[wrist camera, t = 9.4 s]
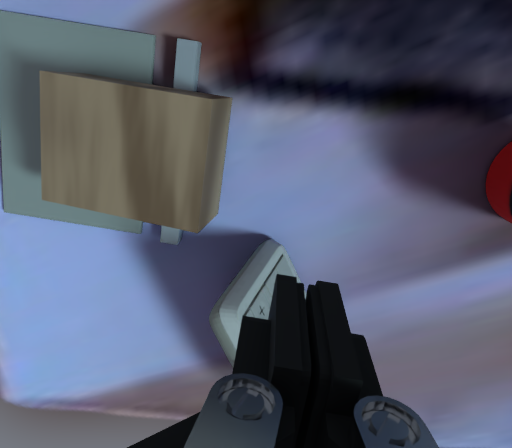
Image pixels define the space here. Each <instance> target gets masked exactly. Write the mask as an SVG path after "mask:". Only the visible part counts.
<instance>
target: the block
mask: <svg viewBox="0 0 512 448" xmlns="http://www.w3.org/2000/svg"><path fill="white" fill-rule="evenodd" d="M39 73H40V131H41V189H42V200H44V201H49V202H54V203H58V204H63V205H68V206H73V207H77V208H82V209H87V210H91V211H96V212H101V213H105V214H110V215H115V216H119V217H124V218H129V219H133V220H138V221H143V222H147V223H152V224H157V225H161V226H166V227H171V228H175V229H180V230H185V231H190V232H194V233H198V232H200V231H201V230H202V229H203V228H204V227H205V226H206V225H207V224H208V223H209V222H210V221H211V220H212V219H213V218H214V217H215V216H216V215H217V214H218V209H219V201H220V193H221V185H222V177H223V169H224V161H225V153H226V145H227V136H228V128H229V120H230V112H231V104H232V98H230V97H224V96H218V95H212V94H206V93H200V92H194V91H188V90H182V89H176V88H169V87H163V86H157V85H151V84H145V83H139V82H133V81H127V80H121V79H115V78H109V77H103V76H97V75H91V74H84V73H71V72H55V71H39Z"/></svg>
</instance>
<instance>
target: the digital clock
mask: <svg viewBox="0 0 512 448" xmlns="http://www.w3.org/2000/svg"><path fill="white" fill-rule="evenodd" d="M277 274H281V275H287V276H293V277H297V283H301V281H300V279H299V277H298V275H297V273H296V271H295V268H294V266H293V264H292V262H291V260H290V258H289V256H288V254H287V252H286V250H285V248H284V247H283V246H282V245H281V244H279V243H278V242H276V241H274V240H272V239H269V240H267V241H264V242H263V243H262V244H260V245H259V246H258V248H257V249H256V250H255V252H254V253H253V254H252V255H251V257H250V258H249V259H248V261H247V262H246V263H245V265H244V266H243V267H242V269H241V270H240V271H239V273H238V274H237V275H236V277H235V278H234V279H233V281H232V282H231V283H230V285H229V286H228V287H227V289H226V290H225V291H224V293H223V294H222V295H221V297H220V298H219V299H218V301H217V302H216V304H215V305H214V307H213V308H212V310H211V313H210V315H209V322H210V325H211V328H212V330H213V332H214V334H215V336H216V337H217V339H218V341H219V343H220V345H221V347H222V349H223V351H224V352H225V354H226V356H227V358H228V360H229V362H230V363H231V365H232V367H234V361H235V356H236V350H237V344H238V338H239V333H240V327H241V321H242V315H243V316H249V317H255V318H261V319H267V320H268V317H269V311H270V306H271V301H272V295H273V290H274V284H275V279H276V275H277ZM304 293H305V298H306V292H305V290H304Z"/></svg>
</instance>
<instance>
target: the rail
mask: <svg viewBox="0 0 512 448" xmlns="http://www.w3.org/2000/svg"><path fill="white" fill-rule="evenodd" d="M200 53H201V43H200V42H198V41H192V40H185V39H179V38H177V49H176V61H175V73H174V84H173V88H176V89H182V90H188V91H194V92H197V82H198V73H199V63H200ZM181 239H182V230H180V229H175V228H171V227H166V226H161V238H160V242H162V243H168V244H174V245H178V244H179V242H180V241H181Z"/></svg>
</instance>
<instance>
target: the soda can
mask: <svg viewBox="0 0 512 448" xmlns="http://www.w3.org/2000/svg"><path fill="white" fill-rule="evenodd" d="M486 194H487V198H488V201H489V203H490V205H491V207H492V208H493V209H494V211H495V212H496V213H497V214H498V215H500V216H501V217H502V218H504V219H505V220H507V221H509V222H510V223H512V142H510V143H509V144H508V145H507V146H505V147H504V148H503V149H502V150H501V151H500V152H499V154H498V155H497V156H496V157H495V159H494V161H493V162H492V164H491V166H490V168H489V171H488V174H487V179H486Z"/></svg>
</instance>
